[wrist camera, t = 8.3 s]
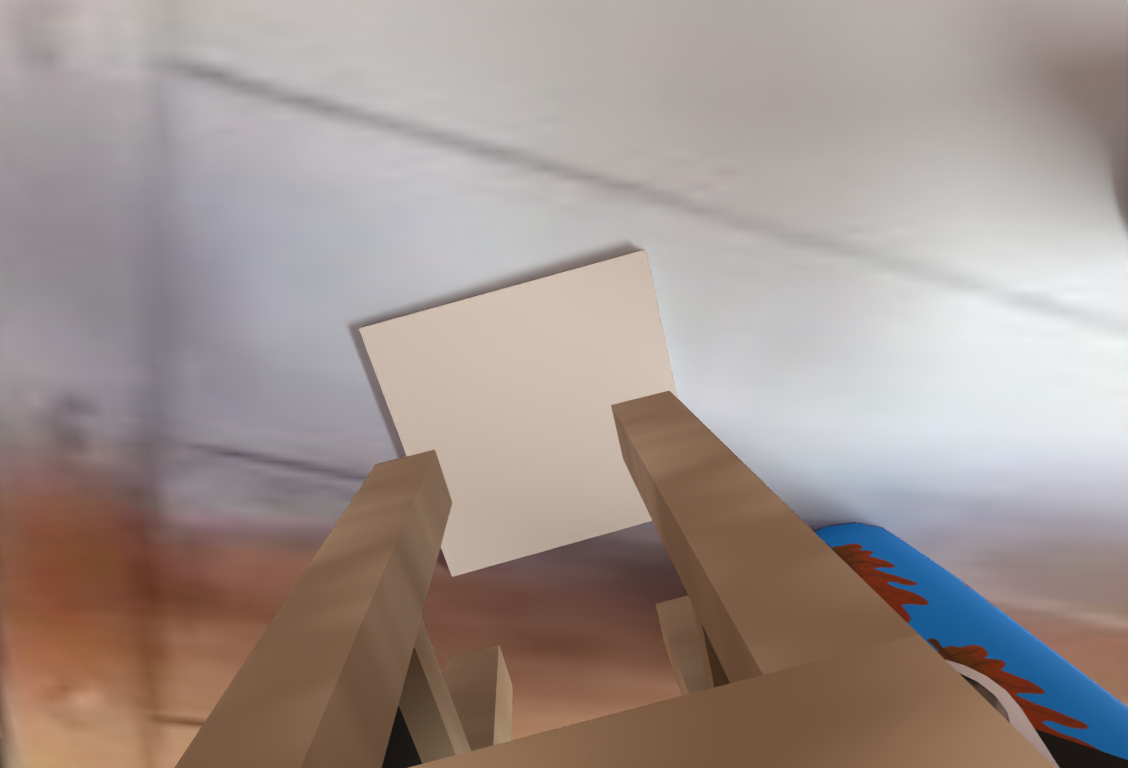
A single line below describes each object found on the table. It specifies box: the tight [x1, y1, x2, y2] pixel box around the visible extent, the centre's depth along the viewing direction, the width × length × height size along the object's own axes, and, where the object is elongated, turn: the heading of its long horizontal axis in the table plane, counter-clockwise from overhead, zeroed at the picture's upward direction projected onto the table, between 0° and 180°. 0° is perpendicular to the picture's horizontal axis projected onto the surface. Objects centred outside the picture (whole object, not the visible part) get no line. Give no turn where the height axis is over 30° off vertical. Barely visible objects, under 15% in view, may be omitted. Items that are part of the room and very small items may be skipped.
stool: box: [175, 391, 1055, 768], centre depth 7 cm, size 6×6×8 cm
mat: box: [359, 250, 678, 577], centre depth 27 cm, size 14×14×1 cm
